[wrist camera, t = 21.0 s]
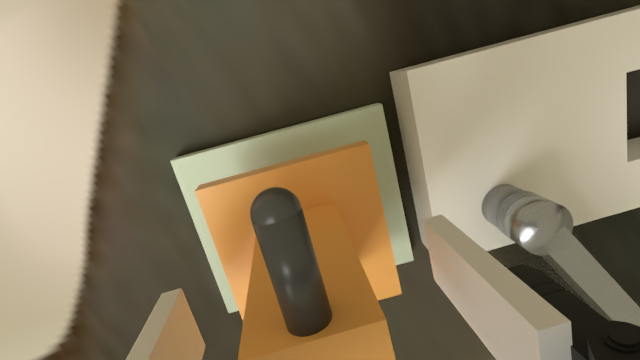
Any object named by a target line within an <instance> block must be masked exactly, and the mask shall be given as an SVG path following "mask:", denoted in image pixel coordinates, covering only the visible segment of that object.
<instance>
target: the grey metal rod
mask: <svg viewBox="0 0 640 360" xmlns="http://www.w3.org/2000/svg"><path fill="white" fill-rule="evenodd" d="M496 223H497V226H498V228H499V230H500V231H501V233H503V234H504V235H505V236H507V237H508V238H510V239H511V240H513V241H514V242H515V243H517V244H518V245H520V246H521V247H523V248H524V249H526V250H527V251H528V252H530V253H532V254H535V255H541V257H542V258H543V259H544V260H545V261H546V262H547V263H548V264H549V265H550V266H551V267H552V268H553V269H554V270H555V271H556V272H557V273H558V274H559V275H560V276H561V277H562V278H563V279H564V280H565V281H566V282H567V283H568V284H569V285H570V286H571V287H572V288H573V289H574V290H575V291H576V292H577V293H578V294H579V295H580V296H581V297H582V298H583V299H584V300H585V301H586V302H587V303H588V305H589V306H590V307H591V308H592V309H594V310H595V311H596V312H598V313H599V314H600V315H602V316H603V317H605V318H606V319H607V320H609V321H613V320H615V321H622V322H628V323H631V324H634V325H637V326H640V307H639V306H638V305H637V304H636V303H635V302H634V301H633V300H632V299H631V298H630V297H629V295H628V294H627V293H626V292H625V291H624V290H623V289H622V288H621V287H620V286H619V285H618V283H617V282H616V281H615V280H614V279H613V278H612V277H611V276H610V275H609V274H608V273H607V272H606V270H605V269H604V268H603V267H602V266H601V265H600V264H599V263H598V262H597V261H596V260H595V258H594V257H593V256H592V255H591V254H590V253H589V252H588V251H587V250H586V249H585V248H584V246H583V245H582V244H581V243H580V242H579V241H578V240H577V239H576V238H575V237H574V236H573V234H572V231H573V217H572V215H571V213H570V211H569V210H568V209H567V208H566V207H564V206H562V205H560V204H558V203H555V202H553V201H551V200H549V199H546V198H544V197H542V196H540V195H538V194H535V193H533V192H530V191H519V192H515V193H513V194H511V195H510V196H508V197H507V198H506V199H505V200H504V201H503V202H502V203H501V205H500V206H499V208H498V211H497V215H496Z"/></svg>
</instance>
